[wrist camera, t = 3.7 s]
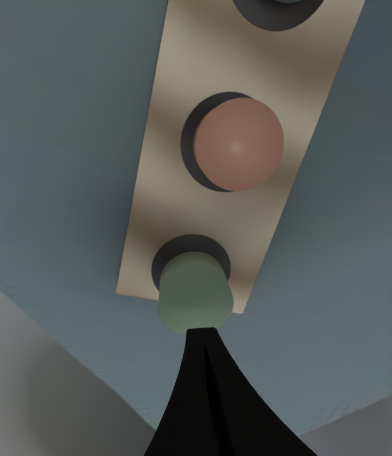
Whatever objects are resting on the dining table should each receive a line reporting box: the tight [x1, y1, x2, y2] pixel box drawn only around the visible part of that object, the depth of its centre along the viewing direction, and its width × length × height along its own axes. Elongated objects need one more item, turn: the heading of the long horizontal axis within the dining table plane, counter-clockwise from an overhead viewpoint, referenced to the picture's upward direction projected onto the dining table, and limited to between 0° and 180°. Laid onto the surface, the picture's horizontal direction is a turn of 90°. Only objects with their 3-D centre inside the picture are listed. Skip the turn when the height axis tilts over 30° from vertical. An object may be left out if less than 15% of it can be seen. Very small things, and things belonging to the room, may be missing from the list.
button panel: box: [116, 0, 365, 314], centre depth 16 cm, size 24×10×2 cm, turn 165°
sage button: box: [158, 252, 234, 335], centre depth 15 cm, size 4×4×3 cm
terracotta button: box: [193, 98, 284, 191], centre depth 13 cm, size 4×4×3 cm
